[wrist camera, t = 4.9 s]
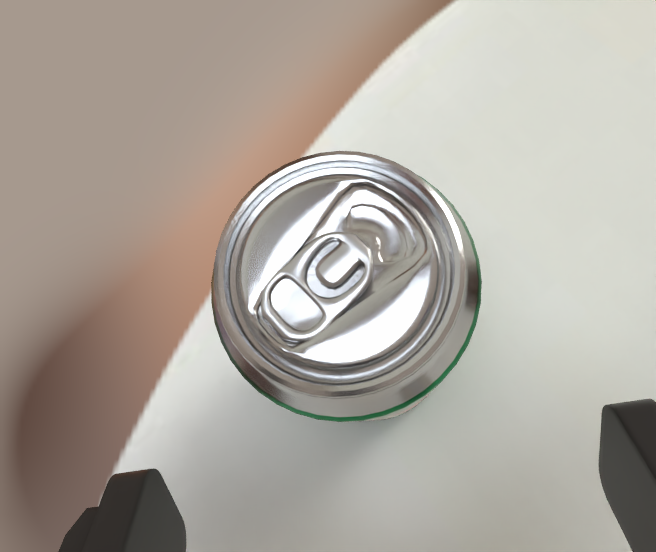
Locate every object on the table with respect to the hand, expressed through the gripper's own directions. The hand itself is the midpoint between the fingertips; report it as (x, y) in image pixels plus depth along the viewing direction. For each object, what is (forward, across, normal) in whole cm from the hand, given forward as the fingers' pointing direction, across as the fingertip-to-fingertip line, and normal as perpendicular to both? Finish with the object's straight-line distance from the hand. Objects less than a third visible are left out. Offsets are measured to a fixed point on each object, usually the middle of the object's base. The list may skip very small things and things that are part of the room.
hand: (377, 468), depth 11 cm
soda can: (+10, 0, +5) cm, 11 cm away
